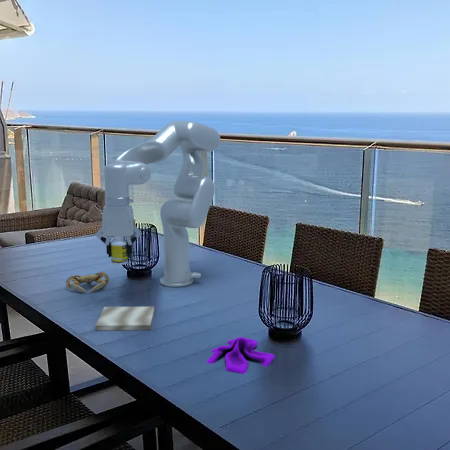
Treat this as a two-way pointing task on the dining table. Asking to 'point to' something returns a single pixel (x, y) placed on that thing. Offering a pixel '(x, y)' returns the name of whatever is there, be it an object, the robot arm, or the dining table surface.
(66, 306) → the dining table surface
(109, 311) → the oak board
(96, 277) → the crab model
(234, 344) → the cloth
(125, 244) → the supplement bottle
